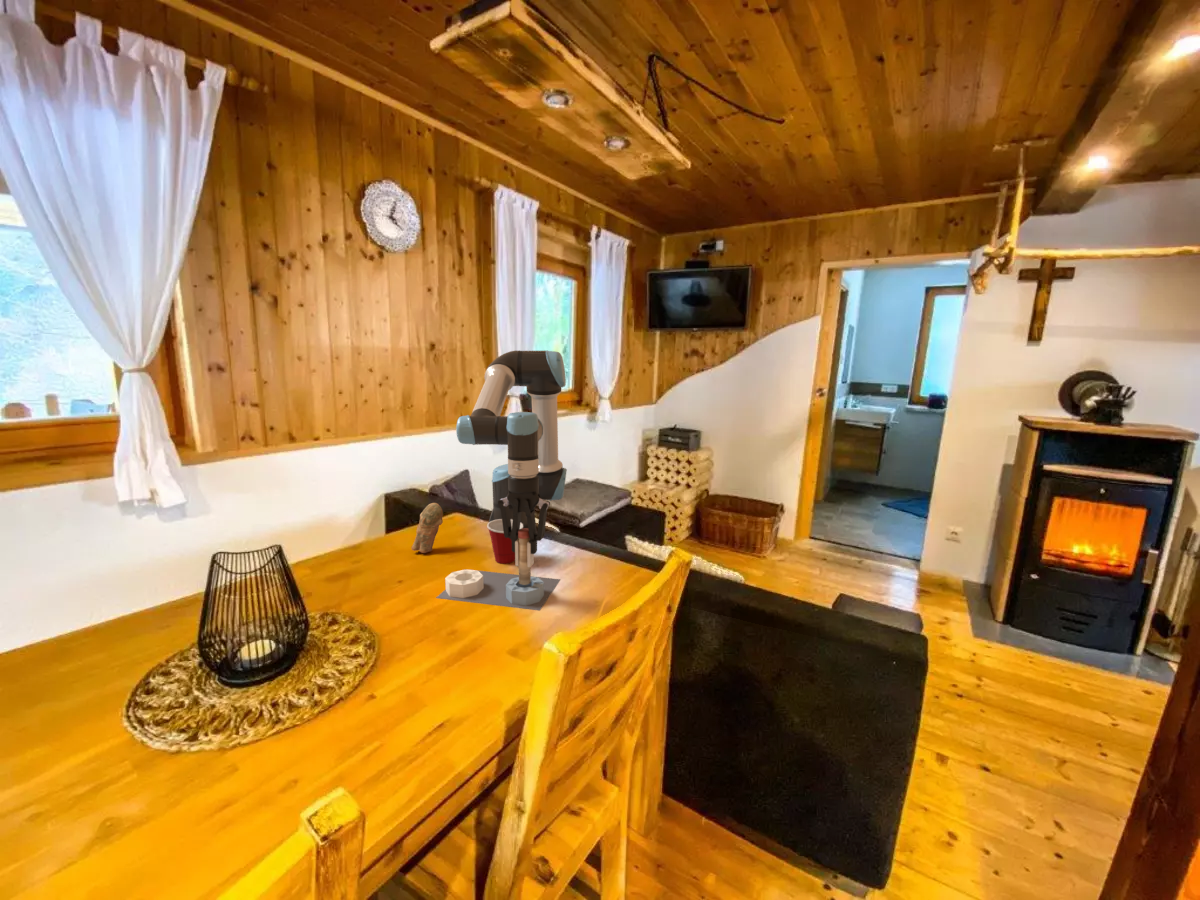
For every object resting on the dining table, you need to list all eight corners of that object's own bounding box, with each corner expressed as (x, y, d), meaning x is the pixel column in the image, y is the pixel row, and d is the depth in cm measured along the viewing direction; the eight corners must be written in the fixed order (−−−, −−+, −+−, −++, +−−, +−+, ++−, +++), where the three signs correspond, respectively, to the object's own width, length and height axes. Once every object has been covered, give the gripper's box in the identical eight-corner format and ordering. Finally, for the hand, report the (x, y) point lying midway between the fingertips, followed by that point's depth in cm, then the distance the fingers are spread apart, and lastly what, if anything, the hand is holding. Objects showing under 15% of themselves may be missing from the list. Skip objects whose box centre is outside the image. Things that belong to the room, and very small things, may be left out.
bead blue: (515, 587, 134) (515, 574, 134) (547, 590, 132) (547, 578, 132) (501, 602, 125) (501, 589, 125) (536, 606, 124) (535, 593, 123)
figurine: (410, 553, 157) (407, 508, 154) (426, 544, 164) (423, 501, 162) (433, 557, 154) (430, 510, 152) (448, 548, 162) (446, 503, 159)
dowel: (521, 579, 130) (520, 527, 127) (532, 580, 129) (532, 529, 127) (516, 584, 127) (516, 531, 124) (528, 585, 126) (527, 533, 124)
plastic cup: (511, 571, 145) (510, 532, 143) (480, 565, 149) (479, 526, 147) (530, 558, 155) (530, 521, 153) (501, 552, 159) (500, 516, 157)
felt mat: (468, 570, 145) (468, 569, 145) (560, 580, 139) (560, 579, 139) (435, 599, 128) (435, 597, 128) (539, 611, 122) (539, 610, 122)
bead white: (457, 580, 138) (456, 568, 137) (487, 584, 136) (487, 571, 135) (440, 595, 129) (439, 582, 128) (472, 599, 127) (472, 586, 126)
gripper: (487, 476, 121) (490, 567, 125) (548, 480, 118) (549, 573, 122) (500, 470, 128) (502, 556, 132) (557, 473, 125) (558, 561, 129)
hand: (524, 564), depth 127 cm, fingers closed on dowel, 2 cm apart
